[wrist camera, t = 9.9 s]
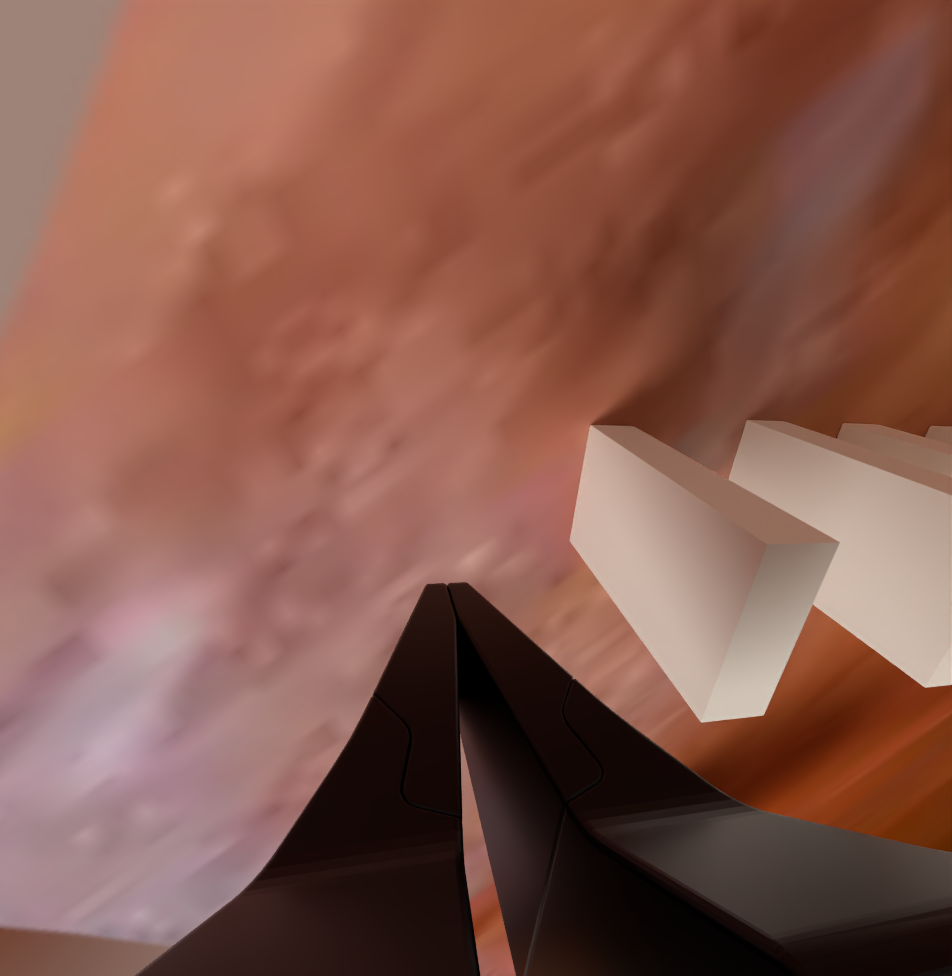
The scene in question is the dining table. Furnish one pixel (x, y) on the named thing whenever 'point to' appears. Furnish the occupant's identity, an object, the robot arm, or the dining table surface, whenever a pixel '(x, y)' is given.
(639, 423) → the dining table surface
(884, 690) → the dining table surface
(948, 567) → the domino
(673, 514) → the domino
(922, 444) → the domino
